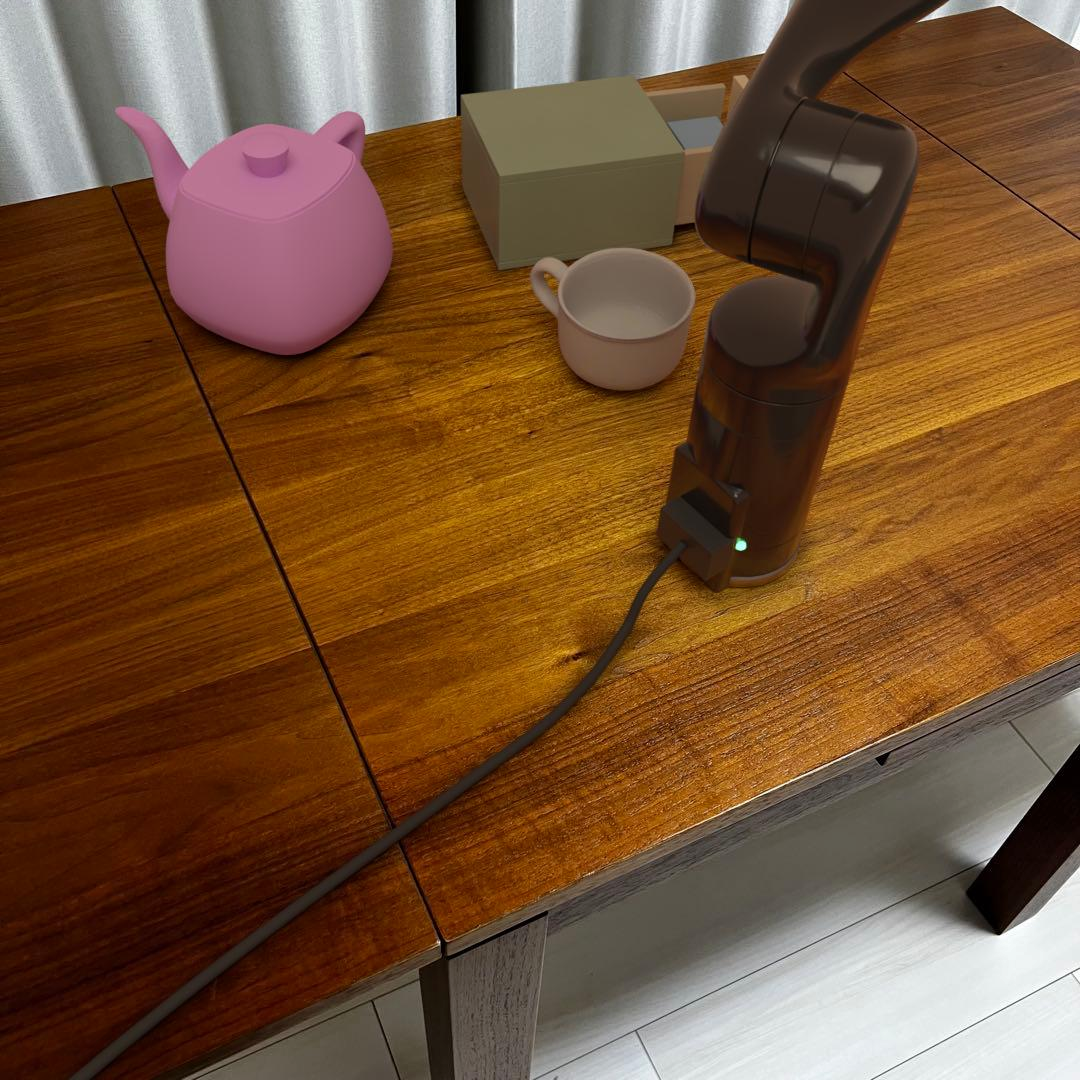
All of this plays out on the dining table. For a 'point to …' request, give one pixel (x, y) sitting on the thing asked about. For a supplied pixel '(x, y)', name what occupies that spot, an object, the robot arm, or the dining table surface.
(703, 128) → the block
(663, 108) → the drawer
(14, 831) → the dining table surface
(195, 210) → the teapot
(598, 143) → the cabinet
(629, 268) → the teacup
